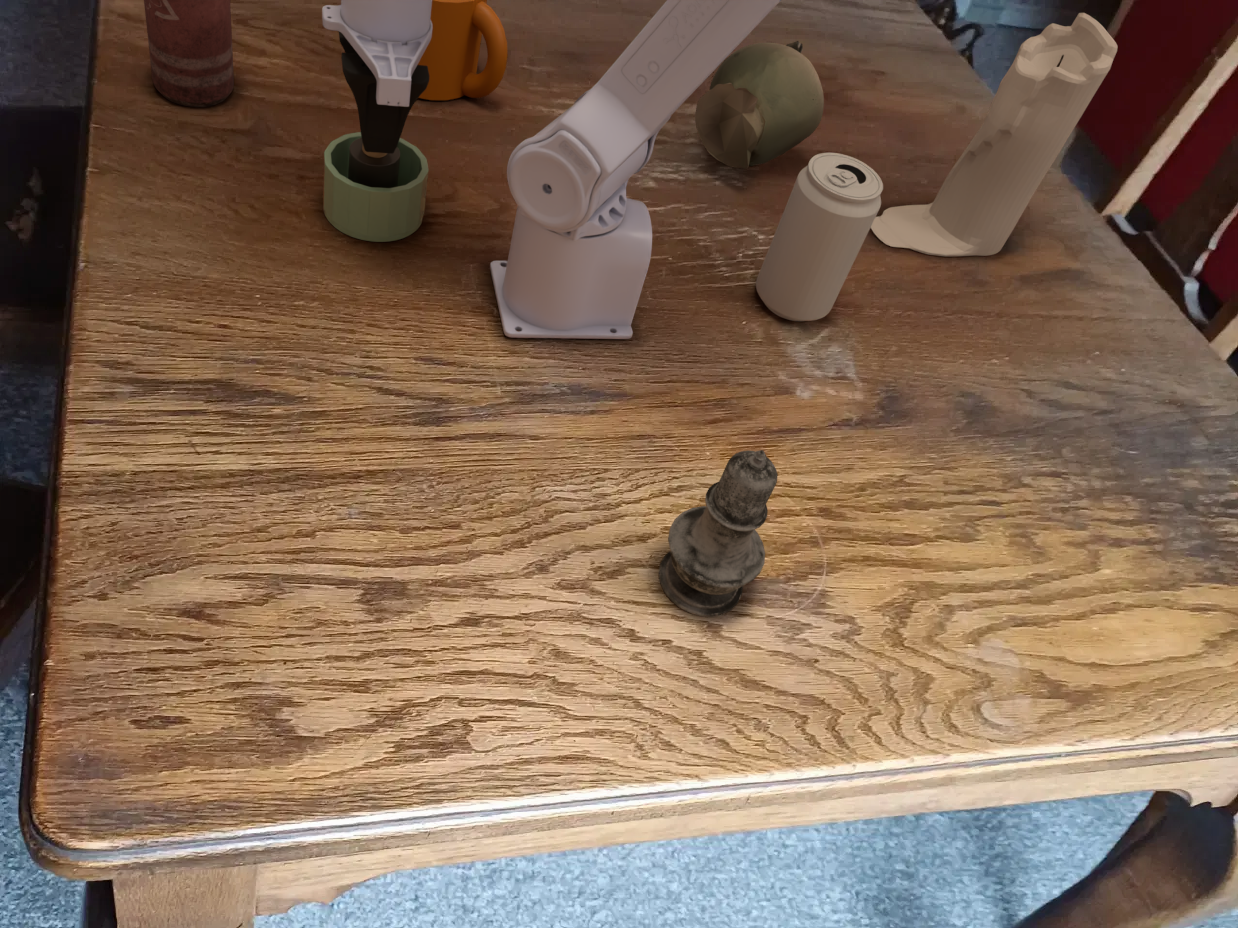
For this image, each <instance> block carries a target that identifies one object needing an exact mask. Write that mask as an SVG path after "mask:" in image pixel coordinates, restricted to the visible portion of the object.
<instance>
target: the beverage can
mask: <svg viewBox="0 0 1238 928" xmlns="http://www.w3.org/2000/svg"><path fill="white" fill-rule="evenodd" d="M883 190H884V183H883V181H882V178H881V177H880V175H879V174H878V173H877V171H875V170H874V169H873V168H872V167H871V166H870V165H868V164H866V163H865V162H863V161H862V160H860V159H857V158H855V157H853V156H850V155H847V154H843V153H839V152H822V153H818V154H815V155H813V157H811V158H810V159H809V162H808V164H807V165H806V166H804V167H803V168H802V169H801V170H800V171H799V172H798V174H797V177H796V179H795V182H794V185H793V187H792V190H791V192H790V195H789V197H788V200H787V202H786V204H785V208H784V209H783V212H782V215H781V217H780V219H779V221H778V224H777V227H776V229H775V231H774V235H773V236H772V240H771V242H770V244H769V247H768V250H767V252H766V255H765V257H764V260H763V262H762V265H761V267H760V270H759V272H758V275H757V277H756V280H755V288H756V292H757V295H758V296H759V298H760V299H761V301H762V302H763V304H764V305H765V306H766V308H767V309H768V310H769V311H770V312H771V313H773V314H775V315H776V316H778V317H780V318H782V319H785V320H789V321H791V322H810V321H811V322H813V321H817V320H820V319H822V318H825V317H826V316H827V315H829V313H830V312H831V310H832V309H833V307H834V305H835V302H836V300H837V298H838V296H839V294H840V292H841V291H842V288H843V286H844V283H845V282H846V280H847V277H848V275H849V273H850V271H851V270H852V267H853V265H854V263H855V261H856V259H857V257H858V254H859V252H860V250H861V248H862V246H863V244H864V242H865V240H866V238H867V236H868V234H869V232H870V229H871V225H872V223H873V221H874V219H875V217H877V215H878V213H879V211H880V208H881V205H882V199H881V194H882V192H883Z"/></svg>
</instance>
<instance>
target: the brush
mask: <svg viewBox="0 0 1238 928" xmlns="http://www.w3.org/2000/svg"><path fill="white" fill-rule="evenodd" d="M399 164H400V151H399V149H398V148H397V147H396V149H395V151H394V153H377V152H366V151H365V149H364V146H363V142H362V138H359V139H356V140H355V141H353V142H352V143H351V145H350V148H349V169H348V179H349V180H351V181H352V182H355V183H358V184H362V185H365V186H369V187H377V188H393V187H398V176H399Z"/></svg>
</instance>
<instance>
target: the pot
mask: <svg viewBox="0 0 1238 928" xmlns="http://www.w3.org/2000/svg"><path fill="white" fill-rule="evenodd" d="M359 138H362V137H361V131H357V132H351V133H345V134H343V135H341V136H339V137H337V138H335V139H333V140H331V141H330V143H329V144H328V145H327V147H326V149H325V150H324V151H323V173H322V175H323V176H322V179H323V180H322V202H323V203H322V204H323V205H322V210H323V213H324V216H325V218H326V220H327V221H328V222H329V224H331V225H332V226H333V227H334V228H335V229H336V230H338V231H339V232H341V233H342V234H345V235H347V236H349V237H351V238H354V239H357V240H362V241H367V242H372V243H374V242H375V243H386V242H387V243H388V242H394V241H398V240H401V239H405V238H408V237H410V236H411V235H412V234H413V233H415V232H416V231H417V230H418V229H419V228H420V227H421V225H422V223H423V220H424V216H425V209H426V200H427V190H428V181H429V172H430V169H429V164H428V159H427V157H426V156H425V154H424V153H423V152H422V151H421V150H420V148H419V147H417V146H416V145H414V144H412V143H410V142H409V141H408V140H405V139H404V138H402V137H400V139H399V142H398V145H397V148H398V149H399V151H400V164H399V176H398V187H393V188H377V187H369V186H365V185H362V184H358V183H355V182H352V181H351V180H349V179H348V169H349V148H350V145H351V143H352V142H353V141H355V140H356V139H359Z"/></svg>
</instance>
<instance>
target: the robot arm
mask: <svg viewBox="0 0 1238 928" xmlns="http://www.w3.org/2000/svg"><path fill="white" fill-rule="evenodd" d="M781 1H782V0H666V1H665V2H664V3H663V4H662V5H661V7H659V9H658V10H657V11H656V12H655V14H654V15H652V17H651V18H650V20H649V21H648V22H647V23H646V24H645V26H643V28H642V29H641V30H640V31H639V33H638V34H637V35H636V36H635V37H634V38H633V40H632V41H631V42H630V43H629V44H628V45H627V46H626V48H625V49H624V50H623V51H622V52H621V54H620V55H619V56H618V57H617V59H615V61H614V62H613V63H612V65H610V67H609V68H608V69H607V71H605V73H604V74H603V75H602V76H601V78H600V79H598V81H597V82H596V83H595V84H594V85H593V86H592V87H591V88H589V89H587V90H585V92H583V93H582V94H581V95H580V96H578V98H577V99H576V100H574V102H573V105H571V106H570V107H568V108H567V109H566V110H564V112H562V113H560V115H558V116H557V117H556V118H554V120H552V121H551V122H549V123H548V124H547V125H545V127H544V128H542V129H541V130H540V131H538V132H537V133H535V134H534V136H531V137H528V138H526V139H524V140H523V141H521V142H520V143H518V145H516V146H515V148H514V149H513V150H512V151H511V154H510V156H509V158H508V161H507V165H506V180H507V184H508V188H509V189H508V190H509V191H510V194H511V196H512V199H513V200H514V203H515V204H516V206H517V207H516V212H515V217H514V223H513V229H512V233H511V234H512V235H511V240H510V245H509V251H508V257H507V260H493V261H491V262H490V264H489V270H490V275H491V279H492V285H493V289H494V293H495V298H496V301H497V306H498V312H499V316H500V321H501V326H502V331H503V334H504V335H505V336H506V337H508V338H512V339H513V338H518V339H519V338H521V339H581V340H582V339H583V340H584V339H585V340H587V339H589V340H590V339H591V340H593V339H594V340H599V339H600V340H630V339H632V337H633V334H634V332H633V327H632V324H633V321H634V320H633V319H634V316H635V313H636V310H637V307H638V303H639V300H640V297H641V294H642V290H643V287H644V284H645V280H646V278H647V273H648V270H649V267H650V263H651V258H652V249H653V226H652V219H651V215H650V212H649V208H648V207H647V205H646V204H645V202H644V201H642V200H637V199H633V198H629V197H627V185H628V182H629V179H630V178H631V177H632V176H634V175H635V174H637V173H639V172H640V171H641V170H642V169H644V167H646V165H647V164H648V162H649V161H650V159H651V157H652V154H653V151H654V146H655V142H656V139H657V136H658V134H659V132H660V131H661V130H662V129H663V127H664V126H665V125H666V124H667V122H669V120H671V118H672V115H673V114H674V113H675V112H676V111H677V110H679V108H680V107H681V106H682V105H683V104H684V103H685V102H686V101H687V100H688V99H689V98H690V97H691V95H693V94H694V92H695V91H696V90H697V89H698V88H699V87H701V85H702V84H703V83H704V82H705V81H706V79H708V78H709V76H711V74H712V73H713V72H715V70H716V69H718V68H719V67H720V65H721V64H722V63H723V61H724V60H726V59H727V58H728V57H729V56H730V55H731V54H732V53H733V51H735V49H736V48H737V47H739V45H740V44H741V43H742V42H743V41H744V40H745V39H746V38H747V37H748V36H749V35H750V34H751V32H753V31H754V29H756V27H757V26H758V25H759V24H760V23H761V22H762V21H763V20H764V19H765V18H766V17H768V15H769V14H770V13H771V12H772V11H773V10H774V9H775V7H776V6H778V4H779V3H780V2H781ZM431 7H432V0H340V4H339V5H335V4H334V5H333V4H326V5H324V6H322V8H321V20H322V21H321V22H322V26H323V28H324V29H326V30H328V31H335V32H338V39H339V43H340V45H341V47H342V48H343V51H344V52H341V58H340V59H341V66H342V67H341V68H342V73H343V76H344V79H345V81H346V83H347V85H348V87H349V88H350V90H351V93H352V95H353V97H354V101H355V103H356V109H357V113H358V121H359V130H360V132H361V137H362V142H363V146H364V149H365V151H366V152H377V153H394V151H395V149H396V147H397V145H398V142H399V139H400V138H401V137H402V133H403V130H404V127H405V124H406V121H407V119H408V116H409V114H410V111H411V109H412V108H413V106H414V104H415V103H416V101H417V100H418V99H419V98H418V97H419V96H420V95H421V94H422V93H423V92H424V91H425V90H426V88H427V85H428V83H429V71H428V66H424V65H418V63H419V61H420V59H421V57H422V55H423V54H424V52H425V50H426V48H427V46H428V44H429V43H430V40H431V38H432V29H433V26H432V22H431V19H430V18H431Z"/></svg>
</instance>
